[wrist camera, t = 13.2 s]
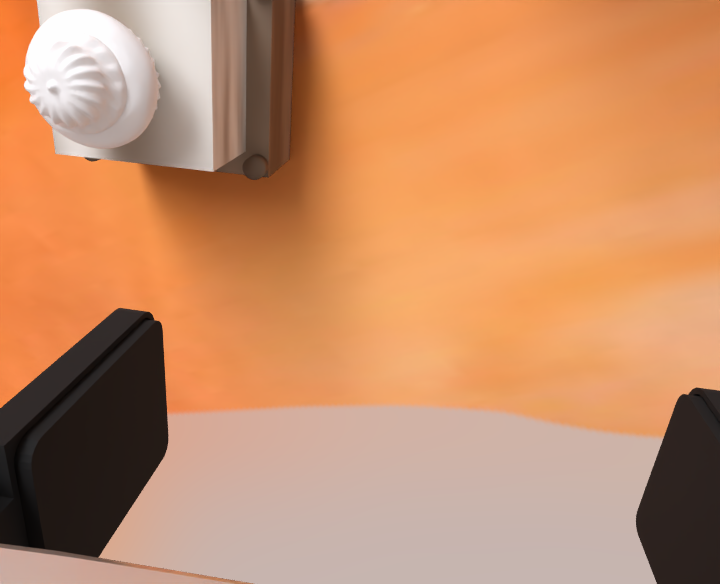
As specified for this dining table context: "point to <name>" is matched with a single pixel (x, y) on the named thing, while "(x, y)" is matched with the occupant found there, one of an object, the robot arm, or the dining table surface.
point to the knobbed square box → (206, 83)
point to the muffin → (91, 78)
